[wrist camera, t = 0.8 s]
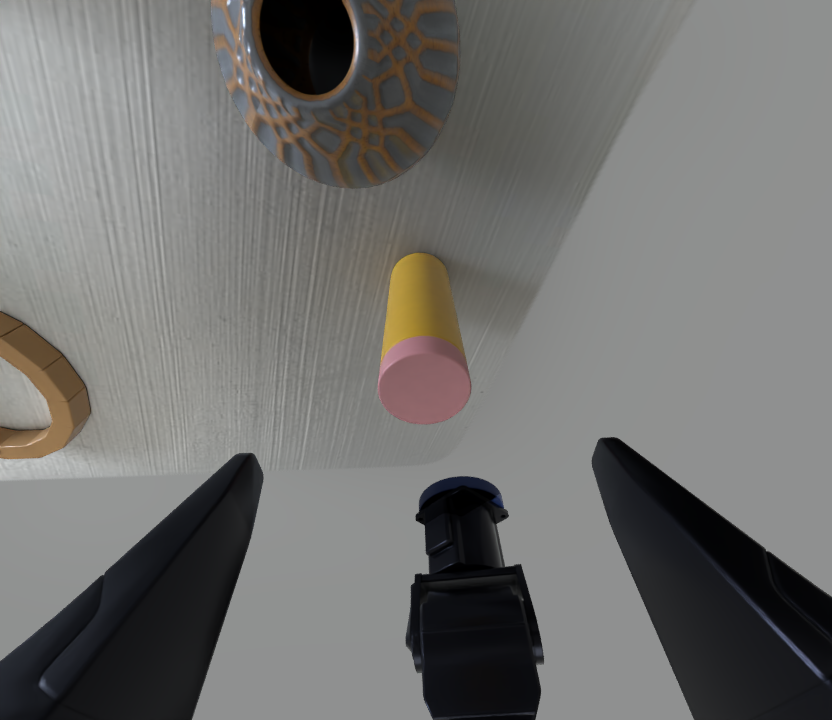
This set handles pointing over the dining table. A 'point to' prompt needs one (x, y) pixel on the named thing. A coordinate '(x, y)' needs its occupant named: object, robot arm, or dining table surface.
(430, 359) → the pencil stub
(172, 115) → the dining table surface
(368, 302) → the dining table surface
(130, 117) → the dining table surface
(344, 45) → the vase
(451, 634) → the robot arm
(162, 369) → the dining table surface
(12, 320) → the wooden ring
